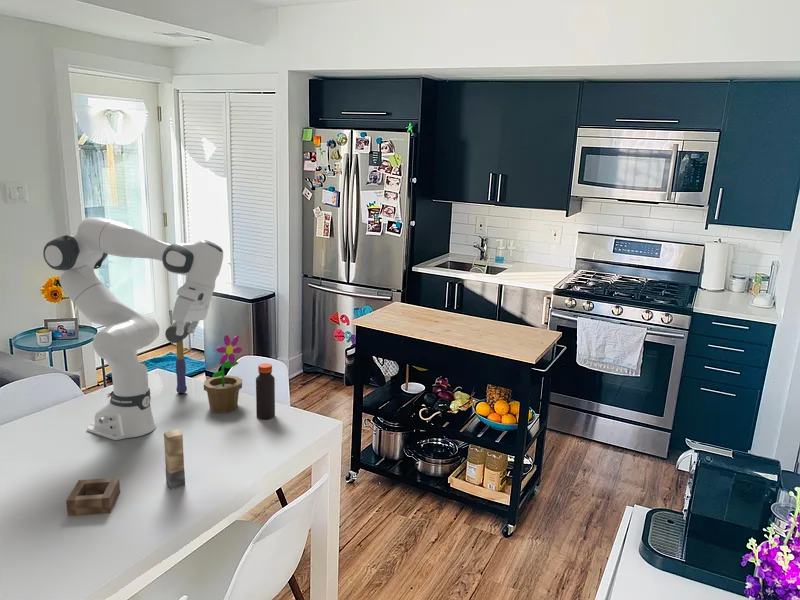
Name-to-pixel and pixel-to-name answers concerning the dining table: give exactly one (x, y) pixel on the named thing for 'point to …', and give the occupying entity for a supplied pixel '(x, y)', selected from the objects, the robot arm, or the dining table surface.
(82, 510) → the wooden square ring
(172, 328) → the rubber mallet
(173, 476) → the light wooden block
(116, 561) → the dining table surface
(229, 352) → the flowerpot
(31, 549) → the dining table surface
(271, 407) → the bottle
